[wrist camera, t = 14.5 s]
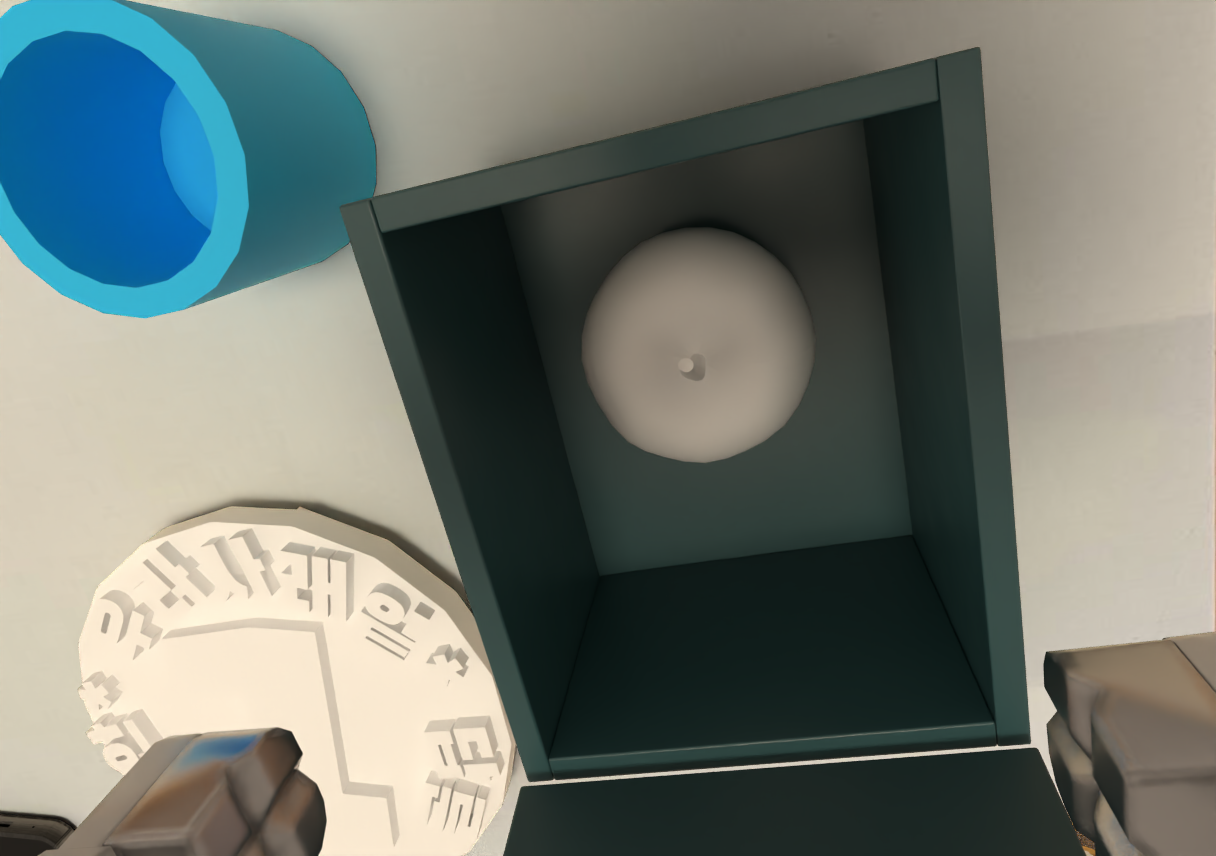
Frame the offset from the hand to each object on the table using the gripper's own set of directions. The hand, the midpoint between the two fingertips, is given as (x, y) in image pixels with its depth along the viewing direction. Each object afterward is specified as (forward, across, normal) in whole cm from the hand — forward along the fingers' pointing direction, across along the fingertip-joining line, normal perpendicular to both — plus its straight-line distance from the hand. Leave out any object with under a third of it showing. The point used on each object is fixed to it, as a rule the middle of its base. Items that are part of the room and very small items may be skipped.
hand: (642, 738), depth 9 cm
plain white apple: (+21, 0, +1) cm, 21 cm away
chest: (+22, 0, +3) cm, 22 cm away
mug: (+22, +16, -8) cm, 28 cm away
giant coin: (+22, +21, +15) cm, 33 cm away
